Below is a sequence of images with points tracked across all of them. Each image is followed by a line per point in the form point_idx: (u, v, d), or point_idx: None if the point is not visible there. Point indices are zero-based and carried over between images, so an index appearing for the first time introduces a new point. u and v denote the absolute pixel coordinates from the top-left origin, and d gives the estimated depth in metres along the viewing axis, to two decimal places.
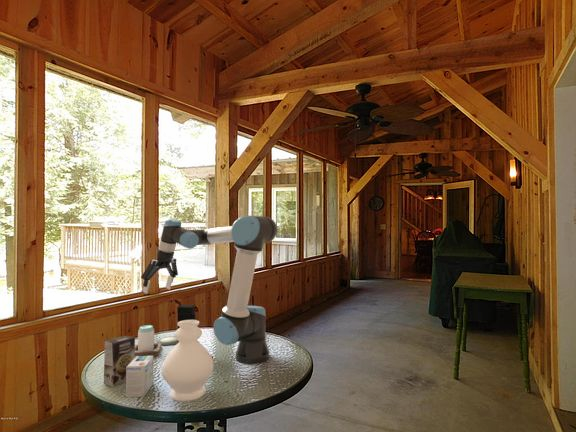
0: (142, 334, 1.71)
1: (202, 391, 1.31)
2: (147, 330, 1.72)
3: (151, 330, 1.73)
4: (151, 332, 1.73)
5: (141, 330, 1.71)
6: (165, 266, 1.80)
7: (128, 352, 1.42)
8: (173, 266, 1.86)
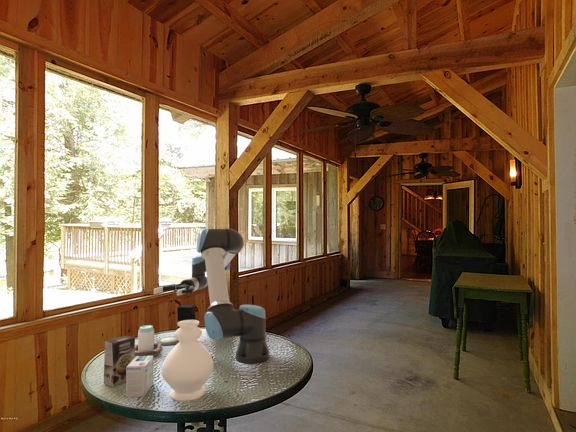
0: (142, 334, 1.71)
1: (202, 391, 1.31)
2: (147, 330, 1.72)
3: (151, 330, 1.73)
4: (151, 332, 1.73)
5: (141, 330, 1.71)
6: (181, 286, 1.98)
7: (128, 352, 1.42)
8: None
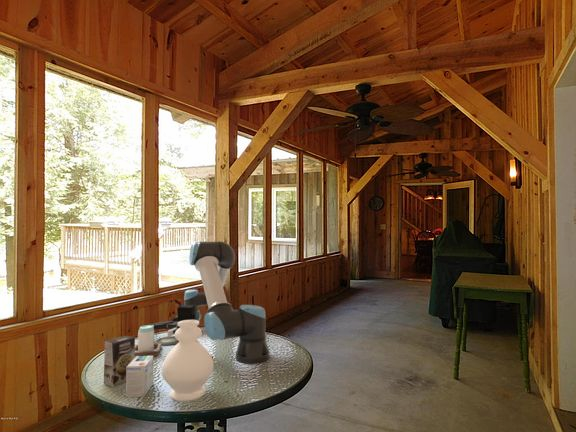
0: (142, 334, 1.71)
1: (202, 391, 1.31)
2: (147, 330, 1.72)
3: (151, 330, 1.73)
4: (151, 332, 1.73)
5: (141, 330, 1.71)
6: (173, 324, 1.94)
7: (128, 352, 1.42)
8: None
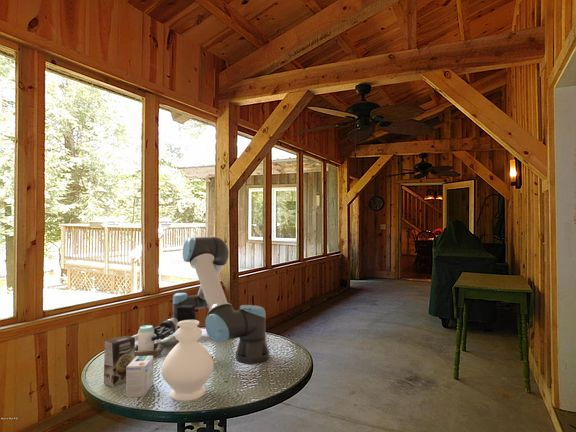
0: (142, 334, 1.71)
1: (202, 391, 1.31)
2: (147, 330, 1.72)
3: (151, 330, 1.73)
4: (151, 332, 1.73)
5: (141, 330, 1.71)
6: None
7: (128, 352, 1.42)
8: None
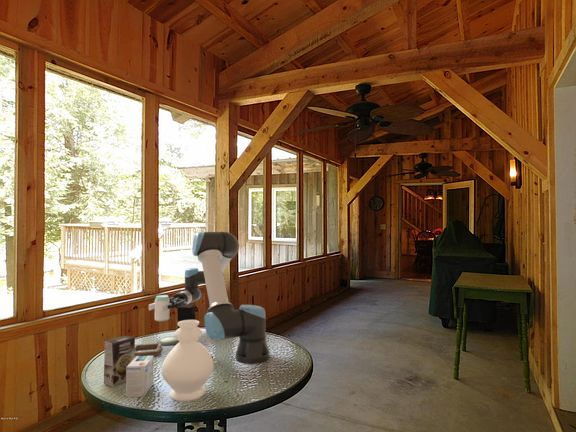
0: (158, 302, 1.82)
1: (202, 391, 1.31)
2: (163, 299, 1.83)
3: (167, 299, 1.84)
4: (167, 301, 1.84)
5: (158, 299, 1.83)
6: (174, 300, 1.95)
7: (128, 352, 1.42)
8: None
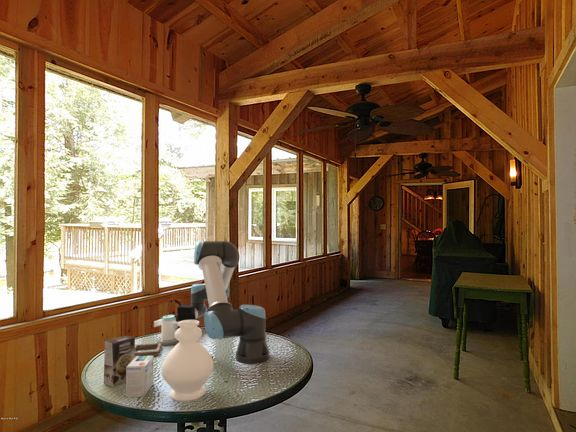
0: (165, 323, 1.86)
1: (202, 391, 1.31)
2: (170, 319, 1.87)
3: (173, 319, 1.88)
4: (173, 321, 1.88)
5: (164, 319, 1.87)
6: None
7: (128, 352, 1.42)
8: None
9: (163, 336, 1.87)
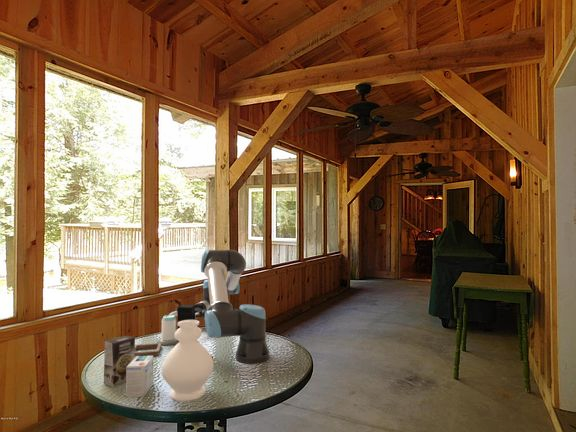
0: (165, 323, 1.86)
1: (202, 391, 1.31)
2: (170, 319, 1.87)
3: (173, 319, 1.89)
4: (173, 321, 1.88)
5: (164, 319, 1.87)
6: (195, 309, 2.11)
7: (128, 352, 1.42)
8: None
9: (163, 336, 1.87)
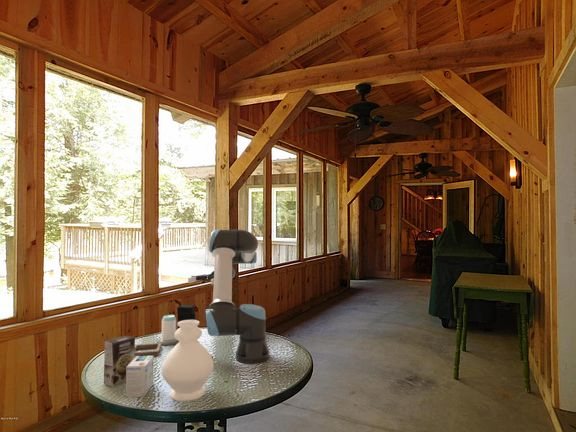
0: (165, 323, 1.87)
1: (202, 391, 1.31)
2: (170, 319, 1.87)
3: (174, 319, 1.89)
4: (174, 321, 1.88)
5: (165, 319, 1.87)
6: (213, 276, 2.09)
7: (128, 352, 1.42)
8: None
9: (163, 336, 1.87)
